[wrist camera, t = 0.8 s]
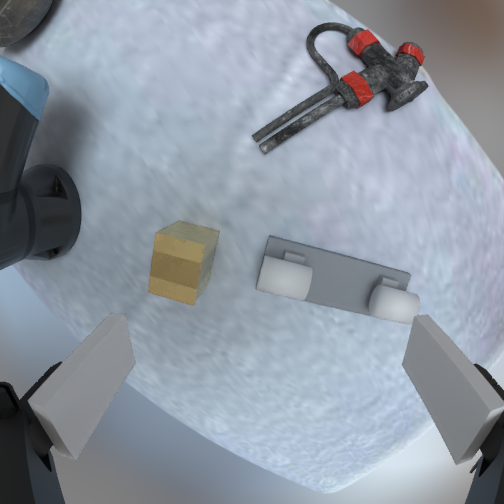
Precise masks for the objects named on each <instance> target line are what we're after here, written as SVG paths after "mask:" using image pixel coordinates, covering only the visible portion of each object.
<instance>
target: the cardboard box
mask: <svg viewBox="0 0 504 504" xmlns="http://www.w3.org/2000/svg"><path fill="white" fill-rule="evenodd" d="M219 232H220V231H219V230H215V229H211V228H207V227H203V226H199V225H195V224H190V223H186V222H182V221H178V222H176V223H174V224H172V225H170V226H168V227H166V228H164V229H162V230H160V231H158V232H156V236H155V242H154V249H153V256H152V263H151V271H150V279H149V288H148V292H150V293H153V294H156V295H159V296H163V297H166V298H169V299H173V300H176V301H179V302H183V303H186V304H190V305H193V306H194V304H195V302H196V301H197V299H198V298H199V296H200V295H201V293H202V291H203V290H204V288H205V287H206V285H207V283H208V282H209V279H210V274H211V269H212V264H213V260H214V255H215V250H216V245H217V241H218V236H219Z"/></svg>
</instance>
